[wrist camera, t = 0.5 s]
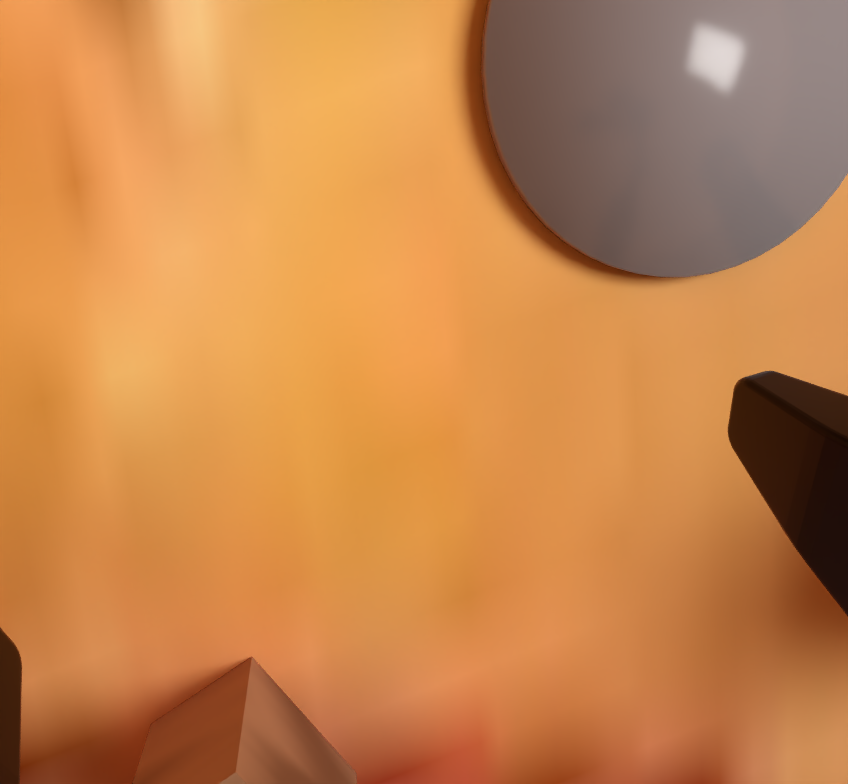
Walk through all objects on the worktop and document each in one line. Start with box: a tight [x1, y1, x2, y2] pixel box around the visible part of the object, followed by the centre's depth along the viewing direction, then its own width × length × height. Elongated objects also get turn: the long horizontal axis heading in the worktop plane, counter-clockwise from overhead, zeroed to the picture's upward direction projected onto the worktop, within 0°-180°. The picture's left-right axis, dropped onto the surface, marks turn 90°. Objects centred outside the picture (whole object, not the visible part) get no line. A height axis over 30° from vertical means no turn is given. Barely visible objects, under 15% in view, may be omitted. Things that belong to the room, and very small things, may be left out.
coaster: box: [481, 0, 848, 277], centre depth 20 cm, size 12×12×1 cm
